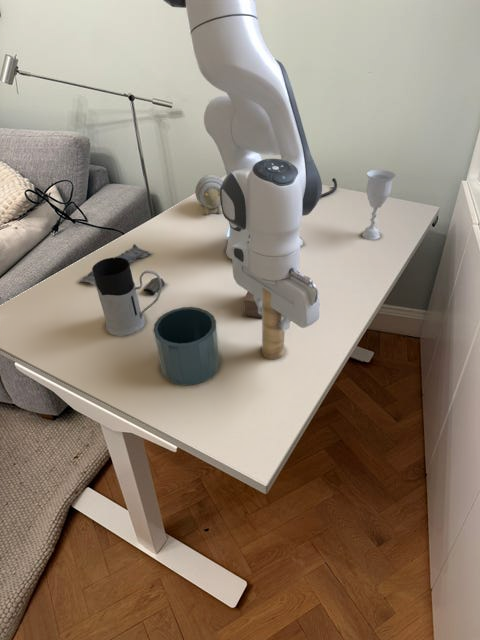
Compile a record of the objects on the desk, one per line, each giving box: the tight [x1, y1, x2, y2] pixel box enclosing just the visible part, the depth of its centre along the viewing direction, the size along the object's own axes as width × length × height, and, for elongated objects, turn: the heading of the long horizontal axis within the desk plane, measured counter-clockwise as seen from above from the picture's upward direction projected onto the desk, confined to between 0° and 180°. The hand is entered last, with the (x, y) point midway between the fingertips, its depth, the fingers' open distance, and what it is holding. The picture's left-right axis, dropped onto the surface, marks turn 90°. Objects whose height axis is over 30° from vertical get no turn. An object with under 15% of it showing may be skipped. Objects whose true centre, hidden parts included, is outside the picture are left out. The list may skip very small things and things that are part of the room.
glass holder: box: [91, 256, 163, 337], centre depth 94 cm, size 9×14×15 cm, turn 88°
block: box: [142, 277, 166, 295], centre depth 109 cm, size 4×6×2 cm, turn 162°
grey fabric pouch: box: [79, 243, 151, 285], centre depth 118 cm, size 21×7×2 cm, turn 144°
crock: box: [152, 306, 220, 386], centre depth 84 cm, size 12×12×10 cm
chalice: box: [361, 169, 396, 241], centre depth 121 cm, size 7×7×18 cm
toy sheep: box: [194, 174, 224, 215], centre depth 142 cm, size 11×17×11 cm, turn 10°
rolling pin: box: [261, 288, 286, 360], centre depth 84 cm, size 4×4×16 cm
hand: (273, 320), depth 84 cm, fingers closed on rolling pin, 4 cm apart
